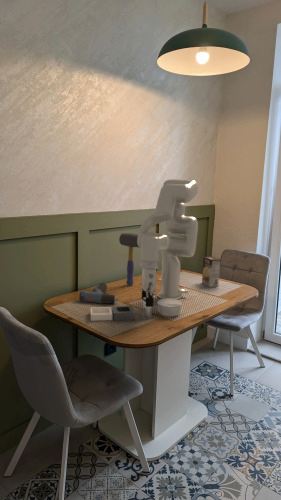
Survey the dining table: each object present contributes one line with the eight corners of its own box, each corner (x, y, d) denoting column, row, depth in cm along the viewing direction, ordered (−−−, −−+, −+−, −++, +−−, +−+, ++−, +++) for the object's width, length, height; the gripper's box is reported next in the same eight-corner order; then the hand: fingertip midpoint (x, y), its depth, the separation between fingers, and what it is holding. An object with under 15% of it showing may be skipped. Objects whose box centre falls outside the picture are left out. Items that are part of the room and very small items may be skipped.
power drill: (126, 294, 189) (115, 307, 170) (92, 290, 193) (78, 302, 174) (126, 284, 188) (115, 296, 169) (92, 281, 192) (78, 292, 173)
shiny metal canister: (150, 315, 160) (151, 296, 158) (152, 318, 155) (153, 299, 154) (141, 315, 159) (142, 296, 157) (143, 319, 155) (144, 299, 153)
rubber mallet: (142, 286, 204) (144, 233, 198) (135, 289, 198) (137, 235, 192) (124, 282, 210) (126, 231, 205) (117, 285, 204) (118, 232, 198)
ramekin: (163, 319, 156) (164, 307, 155) (152, 310, 166) (153, 299, 165) (185, 316, 161) (186, 304, 160) (173, 307, 171) (174, 297, 170)
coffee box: (201, 282, 215) (203, 256, 212) (210, 282, 217) (212, 256, 214) (209, 287, 207) (211, 260, 204) (219, 286, 209) (221, 259, 206)
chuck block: (131, 312, 162) (131, 305, 161) (134, 320, 153) (134, 312, 153) (111, 313, 160) (111, 306, 160) (113, 320, 152) (113, 313, 151)
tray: (110, 312, 161) (110, 306, 161) (112, 320, 153) (112, 314, 152) (90, 312, 160) (90, 307, 159) (91, 320, 151) (91, 314, 151)
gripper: (162, 268, 145) (160, 309, 148) (153, 260, 162) (151, 297, 164) (144, 268, 143) (142, 309, 146) (137, 260, 160) (135, 297, 163)
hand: (147, 302), depth 155 cm, fingers open, 9 cm apart
